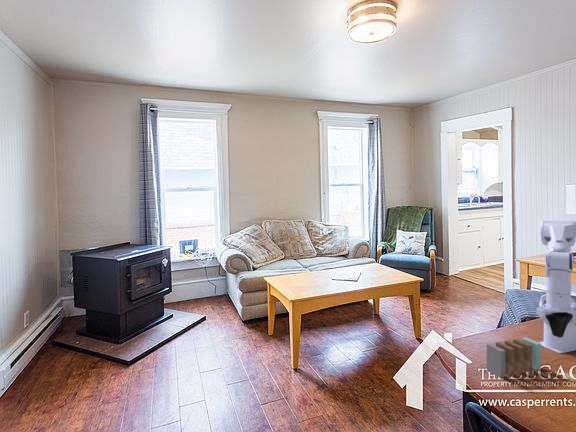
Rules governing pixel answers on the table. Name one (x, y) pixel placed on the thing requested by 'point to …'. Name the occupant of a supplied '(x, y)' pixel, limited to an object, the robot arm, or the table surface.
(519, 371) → the domino
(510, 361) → the domino
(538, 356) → the teal domino
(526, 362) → the domino
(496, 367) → the charcoal domino
